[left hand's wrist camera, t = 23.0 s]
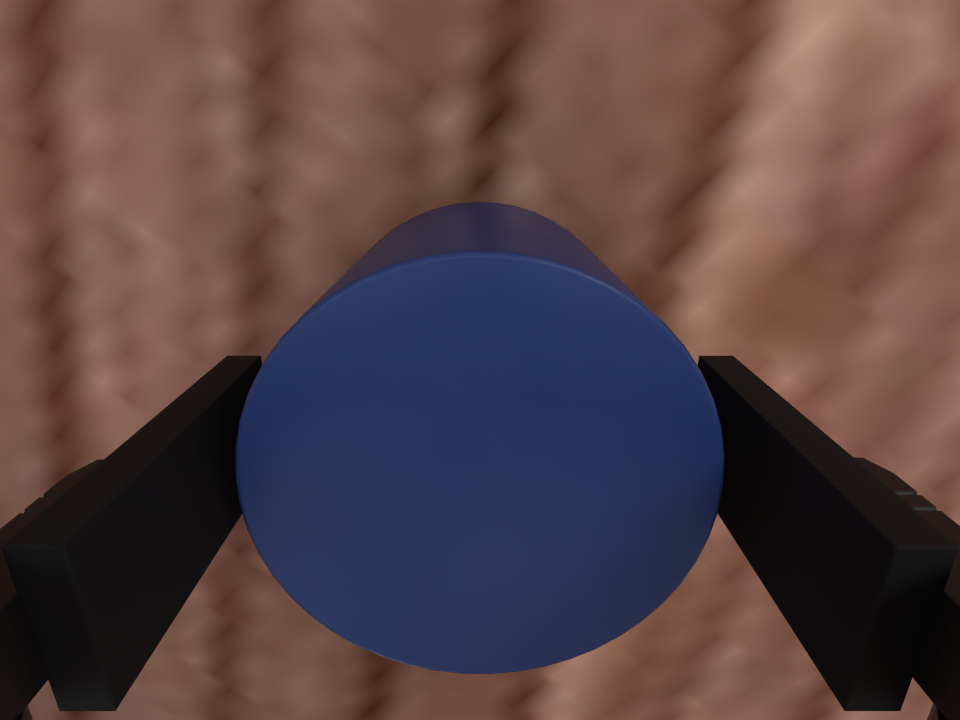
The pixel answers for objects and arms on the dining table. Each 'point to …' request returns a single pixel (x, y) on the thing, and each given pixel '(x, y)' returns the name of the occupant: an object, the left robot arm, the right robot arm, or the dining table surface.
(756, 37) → the dining table surface
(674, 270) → the dining table surface
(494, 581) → the blue cylinder
